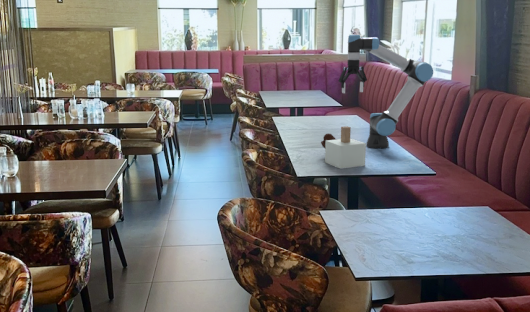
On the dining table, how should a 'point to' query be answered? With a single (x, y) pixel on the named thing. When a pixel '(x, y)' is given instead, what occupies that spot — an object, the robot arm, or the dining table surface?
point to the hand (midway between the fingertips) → (352, 92)
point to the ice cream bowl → (327, 137)
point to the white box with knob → (345, 151)
